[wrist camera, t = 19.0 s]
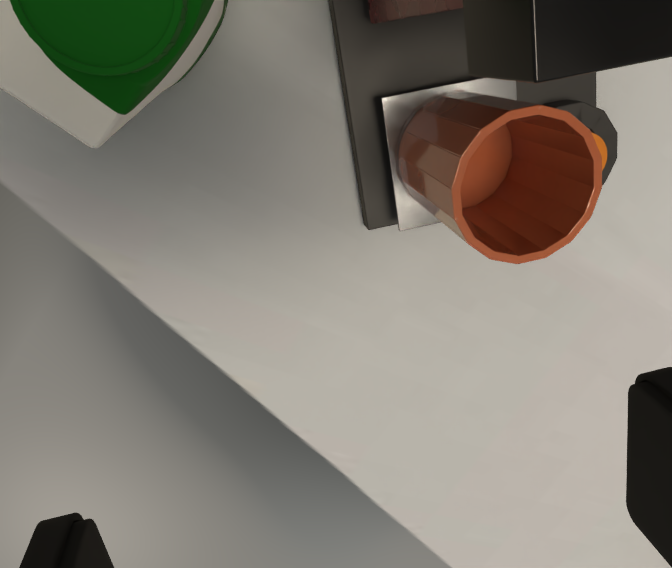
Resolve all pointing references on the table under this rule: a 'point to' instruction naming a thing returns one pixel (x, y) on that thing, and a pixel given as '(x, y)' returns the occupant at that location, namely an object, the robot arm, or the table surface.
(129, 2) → the milk carton
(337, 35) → the base
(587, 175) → the cup
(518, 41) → the coffee maker
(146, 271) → the table surface
